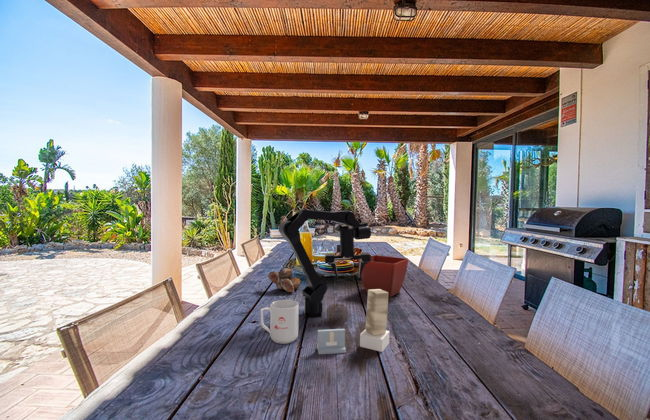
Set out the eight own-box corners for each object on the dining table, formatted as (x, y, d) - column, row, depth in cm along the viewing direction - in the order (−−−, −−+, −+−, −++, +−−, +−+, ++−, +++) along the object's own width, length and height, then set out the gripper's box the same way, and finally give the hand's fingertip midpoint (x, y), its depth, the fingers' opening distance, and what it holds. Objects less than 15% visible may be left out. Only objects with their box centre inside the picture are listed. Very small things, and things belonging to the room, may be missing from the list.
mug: (299, 333, 100) (299, 299, 100) (296, 345, 92) (297, 308, 91) (263, 332, 101) (263, 299, 100) (257, 344, 92) (257, 308, 92)
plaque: (318, 354, 86) (318, 333, 86) (316, 347, 90) (317, 328, 90) (345, 352, 87) (346, 332, 87) (342, 346, 91) (343, 326, 91)
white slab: (359, 347, 91) (360, 334, 91) (368, 338, 97) (368, 326, 97) (382, 352, 88) (382, 339, 88) (389, 343, 94) (389, 330, 94)
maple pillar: (365, 329, 94) (368, 289, 94) (376, 328, 96) (379, 288, 96) (374, 335, 90) (376, 293, 90) (385, 333, 92) (388, 292, 92)
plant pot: (374, 285, 162) (374, 254, 162) (408, 292, 151) (409, 258, 151) (356, 293, 146) (356, 259, 146) (393, 301, 135) (393, 264, 135)
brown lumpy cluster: (265, 274, 156) (270, 271, 143) (293, 265, 163) (301, 261, 150) (272, 299, 154) (277, 298, 141) (300, 289, 160) (309, 287, 147)
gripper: (367, 237, 132) (368, 272, 132) (325, 239, 132) (326, 274, 133) (370, 241, 121) (371, 279, 121) (324, 242, 121) (325, 281, 122)
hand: (348, 278), depth 125 cm, fingers open, 9 cm apart
